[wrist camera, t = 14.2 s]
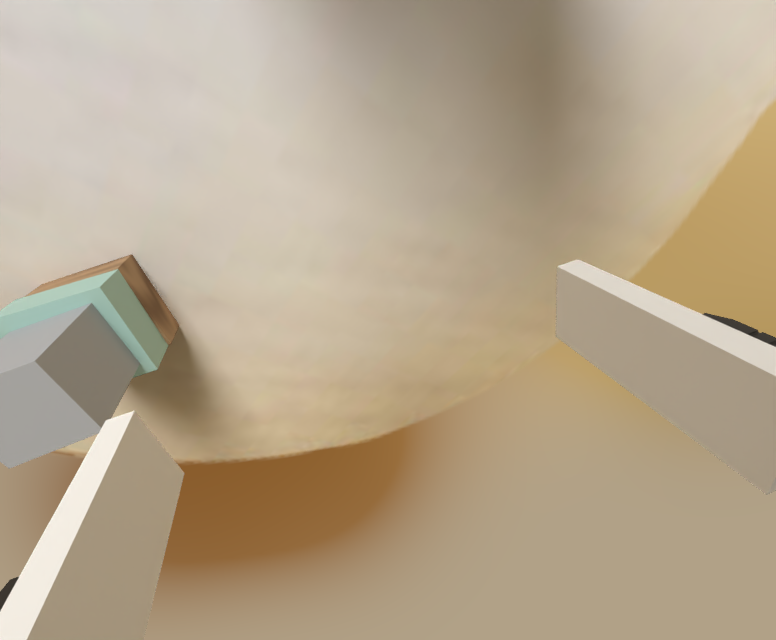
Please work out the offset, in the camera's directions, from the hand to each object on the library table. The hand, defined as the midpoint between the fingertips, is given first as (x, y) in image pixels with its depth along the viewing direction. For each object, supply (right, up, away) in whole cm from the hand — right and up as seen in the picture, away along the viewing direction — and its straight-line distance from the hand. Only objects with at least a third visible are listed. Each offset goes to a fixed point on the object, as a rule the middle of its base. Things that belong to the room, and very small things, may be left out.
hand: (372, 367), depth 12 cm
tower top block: (-25, +1, +21) cm, 33 cm away
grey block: (-24, -1, +18) cm, 30 cm away
